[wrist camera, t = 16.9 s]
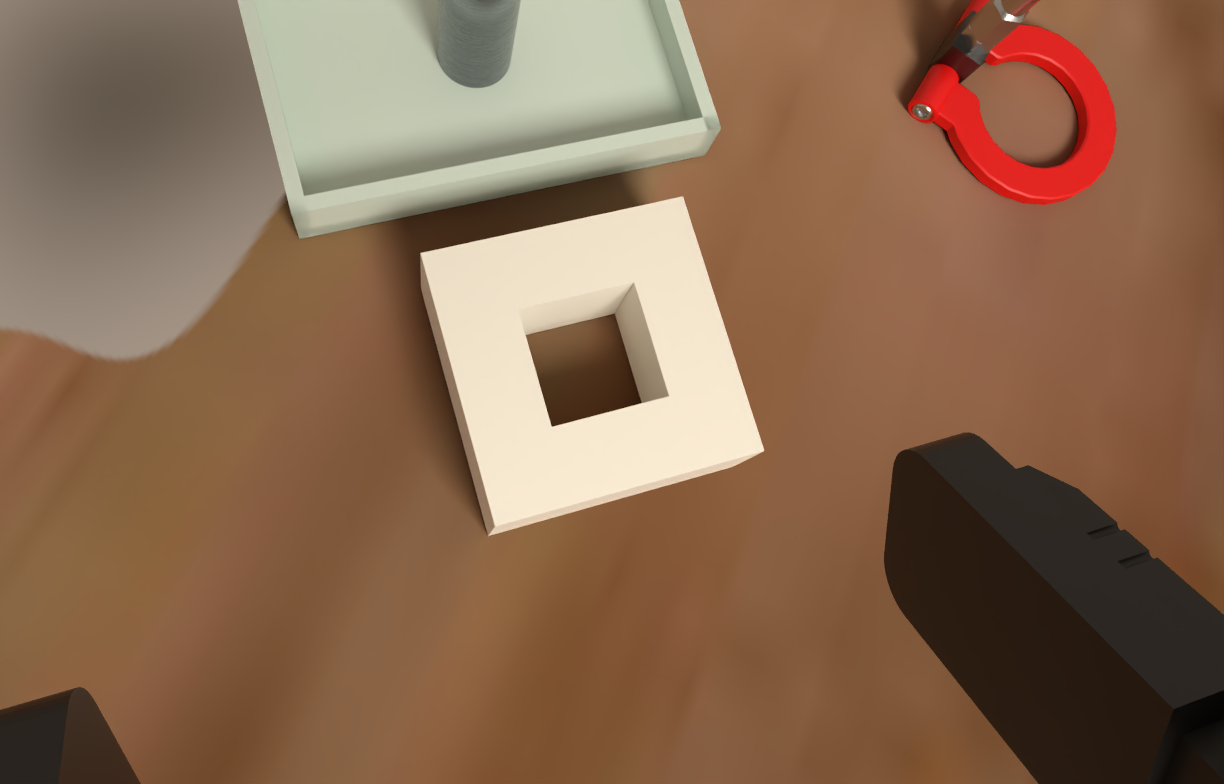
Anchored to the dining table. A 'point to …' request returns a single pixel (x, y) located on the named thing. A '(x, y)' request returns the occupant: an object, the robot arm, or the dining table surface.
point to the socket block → (570, 293)
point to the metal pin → (476, 39)
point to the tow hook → (943, 100)
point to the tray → (468, 104)
